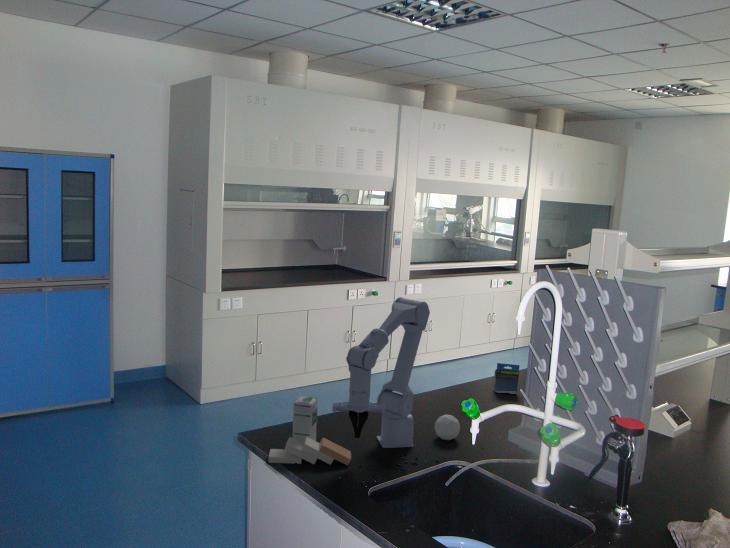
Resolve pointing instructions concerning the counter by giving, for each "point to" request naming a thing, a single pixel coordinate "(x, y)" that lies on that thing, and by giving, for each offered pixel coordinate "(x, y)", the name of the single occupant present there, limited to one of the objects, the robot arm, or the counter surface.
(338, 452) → the tile
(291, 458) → the tile
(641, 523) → the counter surface
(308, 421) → the syrup box
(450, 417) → the ball
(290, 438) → the tile
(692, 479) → the counter surface
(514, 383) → the label tape box
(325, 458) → the tile
